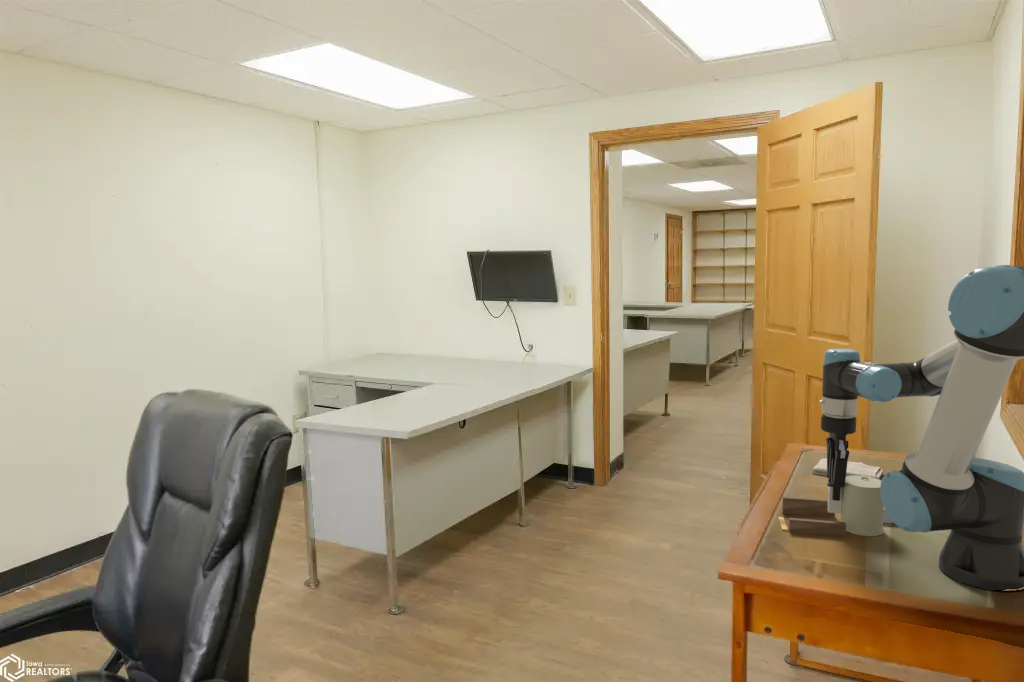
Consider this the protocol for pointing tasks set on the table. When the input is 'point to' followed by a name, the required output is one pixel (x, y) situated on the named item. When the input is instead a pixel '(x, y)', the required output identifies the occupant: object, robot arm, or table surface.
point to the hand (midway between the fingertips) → (834, 511)
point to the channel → (813, 509)
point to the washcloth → (850, 469)
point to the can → (862, 506)
